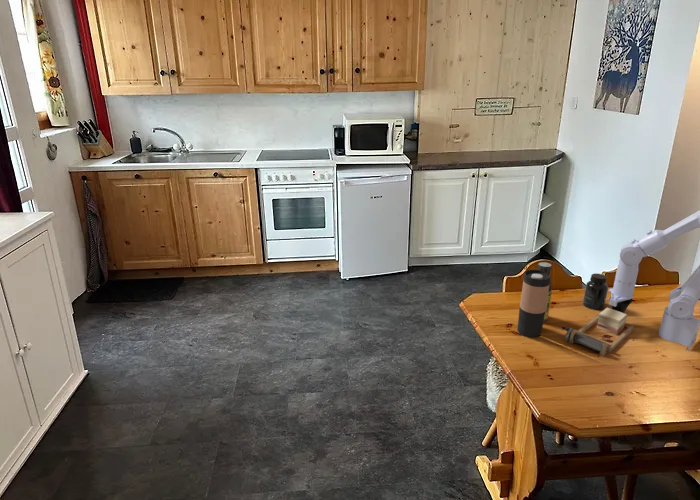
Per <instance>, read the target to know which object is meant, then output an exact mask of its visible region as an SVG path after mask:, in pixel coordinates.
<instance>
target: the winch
mask: <svg viewBox="0 0 700 500" xmlns="http://www.w3.org/2000/svg"><path fill="white" fill-rule="evenodd" d="M561 329H562V330H563V331H566V335H565V341H567V342H568V343H569V344H571V345H573V344H574V343H577V344H580V345H582V346H584V347H587V348H590V349H592V350H595V351H597V352H599V356H602V357H605V356H606V355H607V348H608V344H607V343H605V342H604V343H603V342H600V341H598V340H595V339H592V338H590V337H587V336H585V335H582V334H579V333H577V332H576V331H574V330H575V329H574V328H572V327H567V326H565V325H563V326H562V328H561Z"/></svg>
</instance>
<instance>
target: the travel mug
mask: <svg viewBox="0 0 700 500" xmlns="http://www.w3.org/2000/svg"><path fill="white" fill-rule="evenodd" d="M551 277H552V276H551V274H550V275H547V274H546V273H545V272H544V271H541V270H538V269H528V270H526V271H525V272H524V274H523V280H522V281H523V282H522V289H521V293H520V303H519V312H518V319H517V320H518V321H517V332H518V333H519V334H520V335H521V336H524V337H525V338H530V339H531V338H533V339H534V338H539V337H540V336H541V334H542V331H543V326H544V323H545V322H544V317H545V312H546V305H547V298H548V292H549V285H550V281H551Z"/></svg>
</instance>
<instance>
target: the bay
mask: <svg viewBox="0 0 700 500" xmlns="http://www.w3.org/2000/svg"><path fill="white" fill-rule="evenodd" d="M599 314H600V313H598V314H597V315H595V316H594V317H593V318H591V319H590V320H589V321H588V322H586V323H585V324H584V325H582V327H580V328H579V329H578V330H577V329H573V330H574V331H576V332H577V333H579V334H582V335H585V336H587V337H590V338H592V339H595V340H598V341H600V342H603V343H604V342H605V343H607V344H608V348H607V352H606V354H607V353H608V354H610V353H611V352H612V351H613V350H614V349H616V347H617V346H619V345H620V343H622V341H624V340H625V339H626V338H627V337H629V335H630V334H631V333H632V332H633V331H634V329H635V326H634V325H630V326H628V327H627V328H626V329H625V330H624V331H623V332H622V333H621V334H620V335H618V337H617V338H616V339H614V341H613V342H608V341H606V340H603V339H600V338H599V337H596V336H593V335H590V334H587V333H586V331H587V330H589V329H590V328H591V327H592V326H594V324H597V323H598V318H599Z"/></svg>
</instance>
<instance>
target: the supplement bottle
mask: <svg viewBox="0 0 700 500" xmlns="http://www.w3.org/2000/svg"><path fill="white" fill-rule="evenodd" d="M607 279H608V276H606V275H605V274H602V273H596V272H595V273H592V274H591V275H590V279H589V281H587V282H586V285H585V289H584V290H585V291H584V295H583V299H582V305H583V306H584V307H585V308H586V309H589V310H593V311H603V310H605V306H606V301H607V295H608V293H609V292H608V290H609V286H608V284H607Z"/></svg>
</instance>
